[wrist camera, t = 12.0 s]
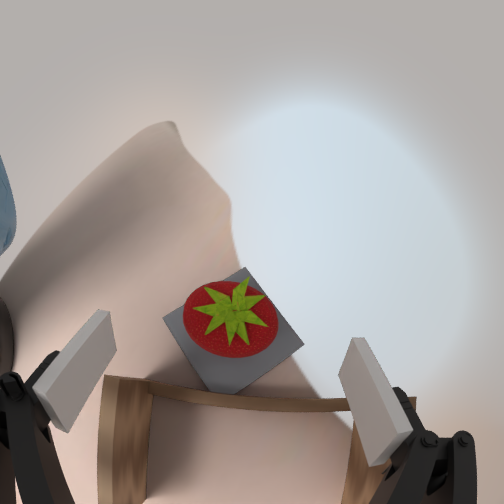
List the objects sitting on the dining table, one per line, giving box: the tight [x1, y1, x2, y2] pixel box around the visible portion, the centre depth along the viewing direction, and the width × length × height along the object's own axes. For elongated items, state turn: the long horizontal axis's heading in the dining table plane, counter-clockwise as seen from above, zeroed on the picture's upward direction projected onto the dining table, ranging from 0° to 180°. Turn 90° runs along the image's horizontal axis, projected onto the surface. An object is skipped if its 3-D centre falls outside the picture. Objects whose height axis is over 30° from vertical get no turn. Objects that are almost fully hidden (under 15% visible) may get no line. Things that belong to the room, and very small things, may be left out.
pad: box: [163, 267, 304, 395], centre depth 26 cm, size 10×10×1 cm
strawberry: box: [183, 276, 279, 358], centre depth 21 cm, size 6×8×10 cm
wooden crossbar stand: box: [97, 375, 416, 504], centre depth 16 cm, size 14×22×9 cm, turn 85°
